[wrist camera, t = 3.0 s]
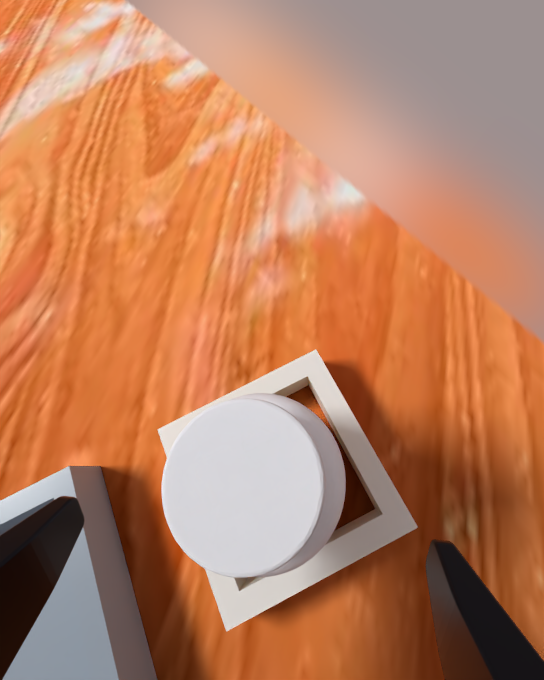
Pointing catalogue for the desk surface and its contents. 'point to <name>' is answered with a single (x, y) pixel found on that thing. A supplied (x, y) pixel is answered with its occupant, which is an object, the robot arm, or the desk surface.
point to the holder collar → (346, 542)
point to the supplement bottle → (253, 486)
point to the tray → (82, 592)
